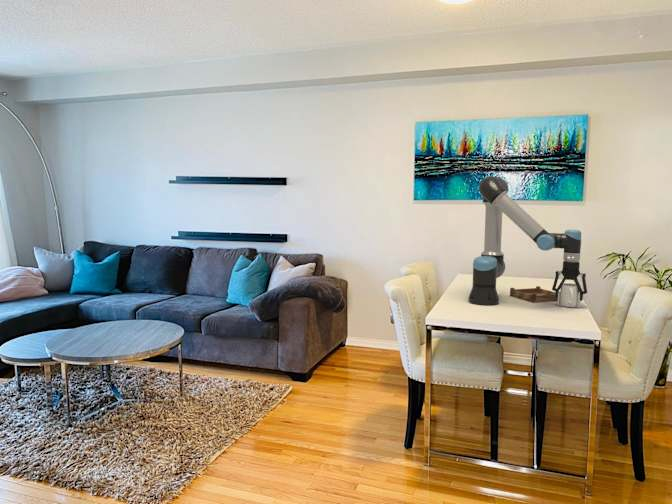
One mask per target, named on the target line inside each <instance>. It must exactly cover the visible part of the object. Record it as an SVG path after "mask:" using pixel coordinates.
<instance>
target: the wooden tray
mask: <svg viewBox="0 0 672 504" xmlns="http://www.w3.org/2000/svg"><path fill="white" fill-rule="evenodd" d="M509 296H510V297H512V298H514V299H515V298H516V299H520V300H522V301H527V302H530V303H533V304H536V303H548V302H558V298H556V292H555V291H554V290H548V289H545V288H544V289H543V288H541V286H538V285H537V286H535V287H534V288H532V287H531V288H530V287H529V288H515V287H510V288H509Z"/></svg>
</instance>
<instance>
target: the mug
mask: <svg viewBox="0 0 672 504" xmlns="http://www.w3.org/2000/svg"><path fill="white" fill-rule="evenodd" d="M559 292H560V305H559V306H561V307H565V308H578V294H580V292H579V290H578V288H577V286H576V283H571V282H570V283H568V282H567V283H565V282H564V283H563V285H562V286H561V288H560V290H559Z"/></svg>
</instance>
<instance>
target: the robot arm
mask: <svg viewBox="0 0 672 504" xmlns="http://www.w3.org/2000/svg"><path fill="white" fill-rule="evenodd" d="M508 192H509V185H508V183H507V181H506V180H505V179H503V178H502V177H499V176H491V175H490V176H486V177H484V178H483V179H481V180H480V182H479V185H478V193H479V194H480V196H481V197H482V203H483V204H484V205H485V215H484V218H485V219H484V245H483V251H482V252H481V254H480V256H477V257H475V258H474V259H473V263H472V266H473V267H472V288H471V290H470V293H469V294H468V303H470V304H473V305H481V306H496V305H499V303H500V298H499V294H498V292H497V279H498V278H500V277H501V276H502V275H503V274H504V272H505V270H506V263H505V261H504V260H505V259H504V257H505V256H504V255H505V254H504V253H503V252H502V231H503V230H502V227H503V226H502V225H503V214H504V215H505V216H506V217H507V218H508V219H509V220H511V222H513V223H514V224H515V225H516V226H517V227H518V228H519V229H521V230H522V231H523V232H524V233H525V235H526V236H528V237H529V238H530V239H531V240H532V241H533V242H534V243H535V244H536V245H537V247H538V248H539V250H541V251H550V250H552V249H563V256H562V257H563V258H562V259H563V261H562V270H561V271H560V270H556V271H555V278H554V281H553V285H552V288H551V291H553V292H556V298H558V301H556V302H557V304H556V305H557V306H561V305H560V290H561V286H562V285H563V283H565V282H566V281H569V280H570V281H574V284H576V286H577V288H578V290H579V294H578V307H577V308H580V307H581V302H582V301H583V300H584V295H586V294H588V287H587V282H586V276H587V274H586V273H583V272H581V271H580V262H579V261H581V249H582V232H581V231H580V230H579V229H565V231H564V233H556V232H553V233H552V232H548V231H547V230H546V229H545V228H544V227H543V226H541V225H540V223H538V222H537V221H536V220H535V219H534V218H533V217H532V216H531V215H530V214H528V212H526V210H524V209H523V207H521V206H520V205H519V204H518V203H517V202H516V201H515V200H513V199H512V197H511V196H509V195H508ZM561 275H562V276H563V278H562V280H561V281H560V283H559V285H558V286H557V284H558V280H559V277H560V276H561ZM579 276H580V278H581V281H582V282H581V283H582V287H583V289H582V287H581V284H580V281H579V279H578V277H579ZM556 287H557V288H556Z"/></svg>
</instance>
